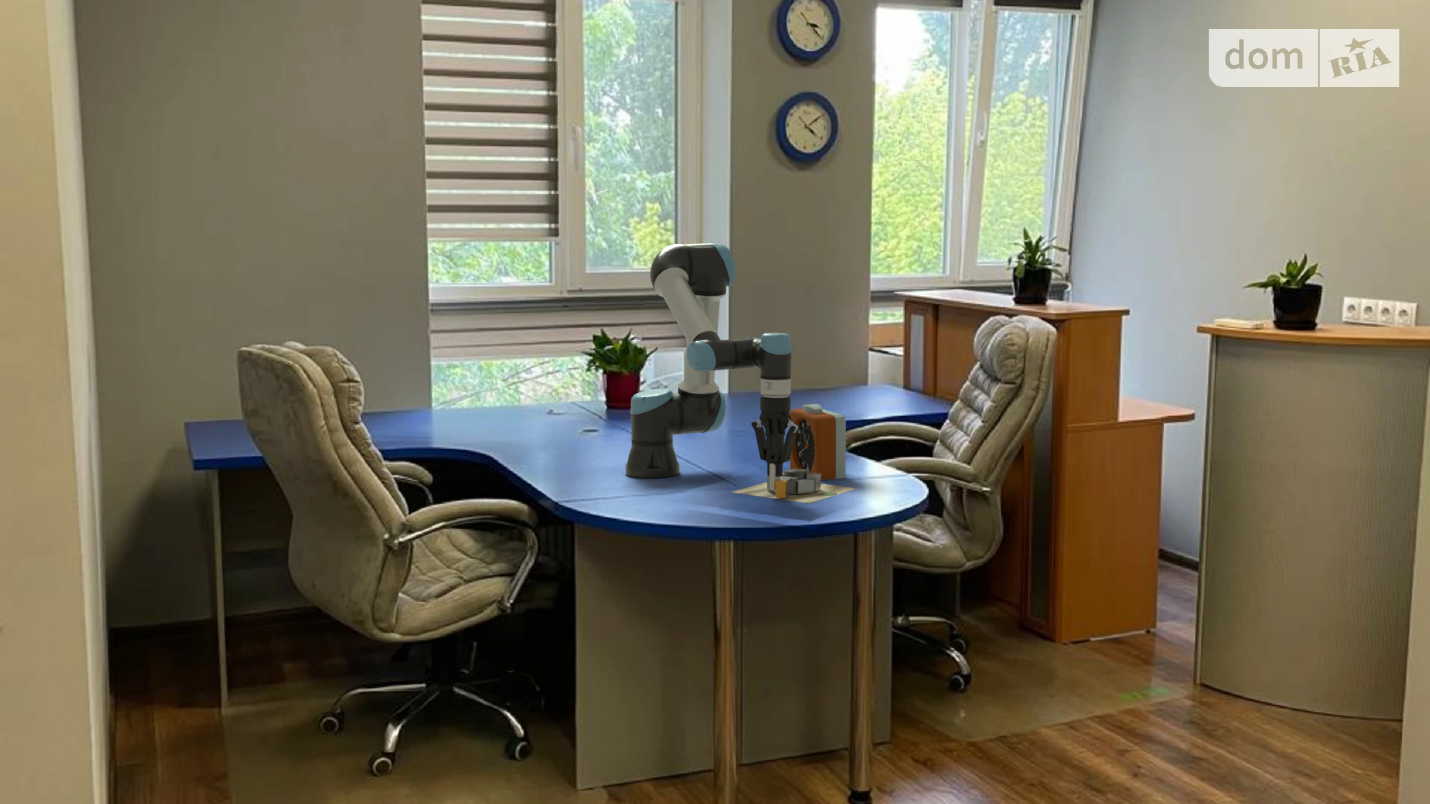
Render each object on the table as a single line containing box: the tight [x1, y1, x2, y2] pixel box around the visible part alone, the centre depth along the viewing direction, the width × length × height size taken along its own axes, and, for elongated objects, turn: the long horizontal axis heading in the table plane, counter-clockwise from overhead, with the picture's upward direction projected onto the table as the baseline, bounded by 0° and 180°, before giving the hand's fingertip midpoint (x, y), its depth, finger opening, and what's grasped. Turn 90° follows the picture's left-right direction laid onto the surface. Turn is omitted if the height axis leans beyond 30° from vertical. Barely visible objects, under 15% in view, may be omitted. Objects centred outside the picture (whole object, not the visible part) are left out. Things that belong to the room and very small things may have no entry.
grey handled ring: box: [766, 469, 822, 498], centre depth 342 cm, size 18×13×4 cm
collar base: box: [731, 468, 857, 504], centre depth 344 cm, size 24×22×6 cm
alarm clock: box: [789, 403, 847, 481], centre depth 366 cm, size 18×9×21 cm, turn 21°
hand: (774, 488), depth 336 cm, fingers closed
